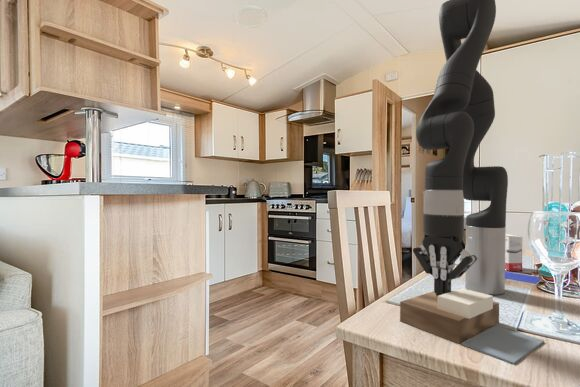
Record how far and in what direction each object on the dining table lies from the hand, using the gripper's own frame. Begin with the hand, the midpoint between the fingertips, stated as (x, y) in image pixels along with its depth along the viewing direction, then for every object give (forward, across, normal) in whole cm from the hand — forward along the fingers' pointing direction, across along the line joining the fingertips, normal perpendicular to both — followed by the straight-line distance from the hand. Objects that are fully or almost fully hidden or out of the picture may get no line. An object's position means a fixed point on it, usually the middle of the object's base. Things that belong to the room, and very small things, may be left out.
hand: (442, 296), depth 67 cm
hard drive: (+6, +6, -50) cm, 51 cm away
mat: (+5, -12, 0) cm, 13 cm away
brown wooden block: (+5, -1, -1) cm, 5 cm away
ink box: (+5, +13, -63) cm, 64 cm away
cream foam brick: (+1, -5, 0) cm, 5 cm away
